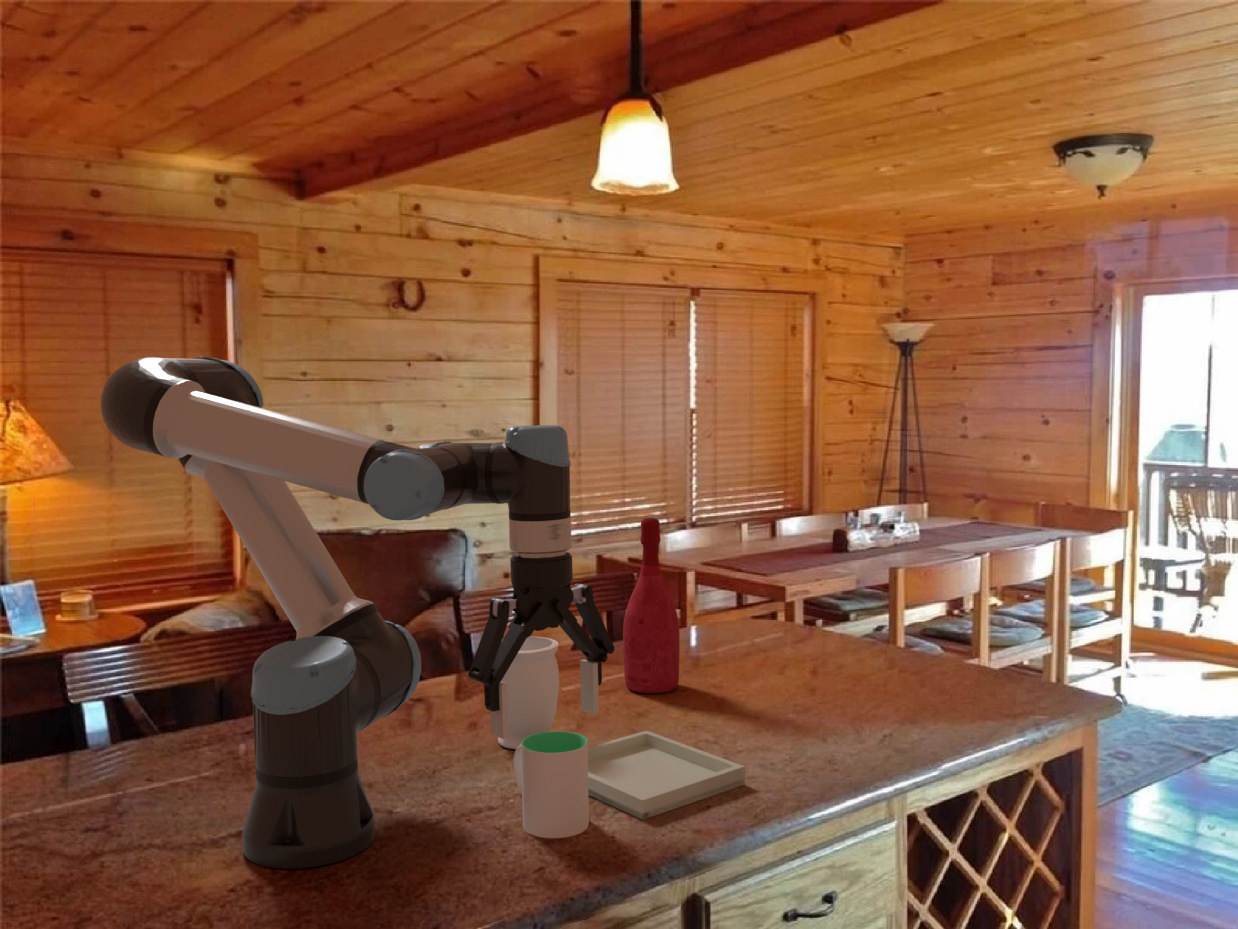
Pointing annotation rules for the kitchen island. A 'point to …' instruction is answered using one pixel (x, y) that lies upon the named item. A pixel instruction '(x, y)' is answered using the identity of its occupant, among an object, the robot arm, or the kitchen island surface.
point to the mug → (553, 783)
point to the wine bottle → (651, 624)
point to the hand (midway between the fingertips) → (546, 724)
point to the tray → (656, 774)
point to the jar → (531, 690)
